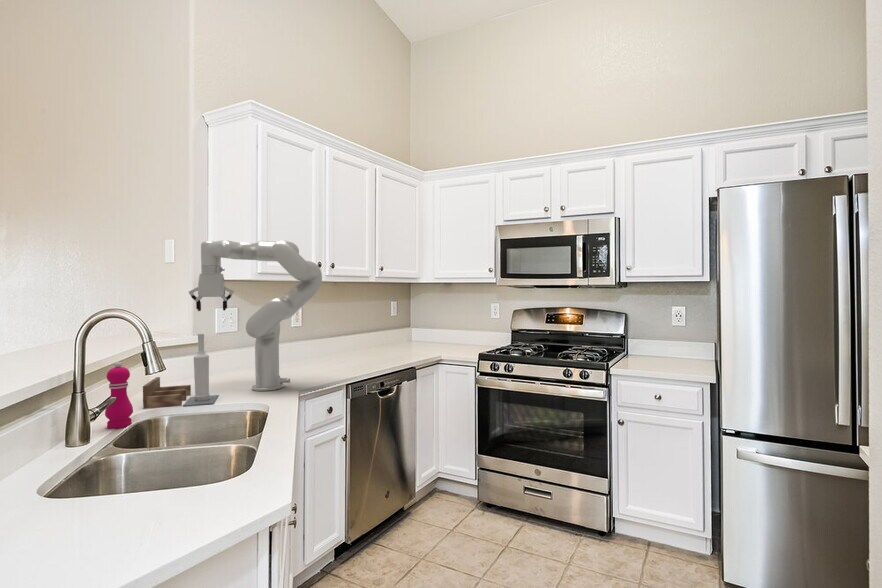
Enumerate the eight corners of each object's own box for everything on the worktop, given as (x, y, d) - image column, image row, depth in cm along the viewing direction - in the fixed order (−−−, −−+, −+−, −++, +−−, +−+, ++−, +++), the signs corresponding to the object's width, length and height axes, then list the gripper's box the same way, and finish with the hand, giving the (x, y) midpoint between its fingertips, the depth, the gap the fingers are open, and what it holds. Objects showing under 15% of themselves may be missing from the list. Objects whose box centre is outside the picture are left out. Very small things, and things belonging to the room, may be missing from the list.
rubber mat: (218, 396, 185) (218, 394, 185) (213, 404, 172) (213, 402, 172) (190, 398, 182) (190, 396, 182) (182, 406, 169) (182, 405, 169)
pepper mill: (119, 429, 142) (117, 364, 142) (99, 428, 143) (97, 363, 143) (139, 423, 149) (137, 360, 149) (119, 422, 150) (118, 360, 150)
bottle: (203, 401, 174) (202, 334, 174) (191, 401, 175) (189, 334, 175) (212, 398, 179) (211, 333, 179) (200, 397, 180) (199, 333, 180)
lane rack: (190, 394, 188) (190, 374, 188) (181, 405, 171) (180, 383, 171) (156, 397, 185) (156, 377, 184) (143, 408, 167) (142, 386, 167)
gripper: (234, 270, 205) (234, 309, 206) (190, 270, 200) (191, 310, 200) (232, 270, 198) (233, 310, 198) (186, 270, 193) (187, 311, 193)
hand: (212, 310), depth 199 cm, fingers open, 9 cm apart
